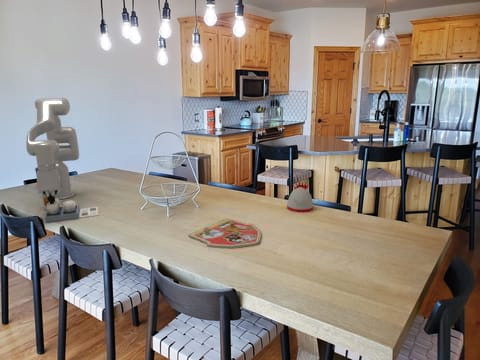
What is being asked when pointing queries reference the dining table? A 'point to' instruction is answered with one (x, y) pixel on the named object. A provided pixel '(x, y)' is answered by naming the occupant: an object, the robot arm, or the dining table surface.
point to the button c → (52, 208)
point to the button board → (62, 215)
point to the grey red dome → (300, 199)
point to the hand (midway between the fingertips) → (52, 203)
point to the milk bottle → (45, 199)
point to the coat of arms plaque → (228, 234)
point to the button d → (68, 205)
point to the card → (88, 212)
